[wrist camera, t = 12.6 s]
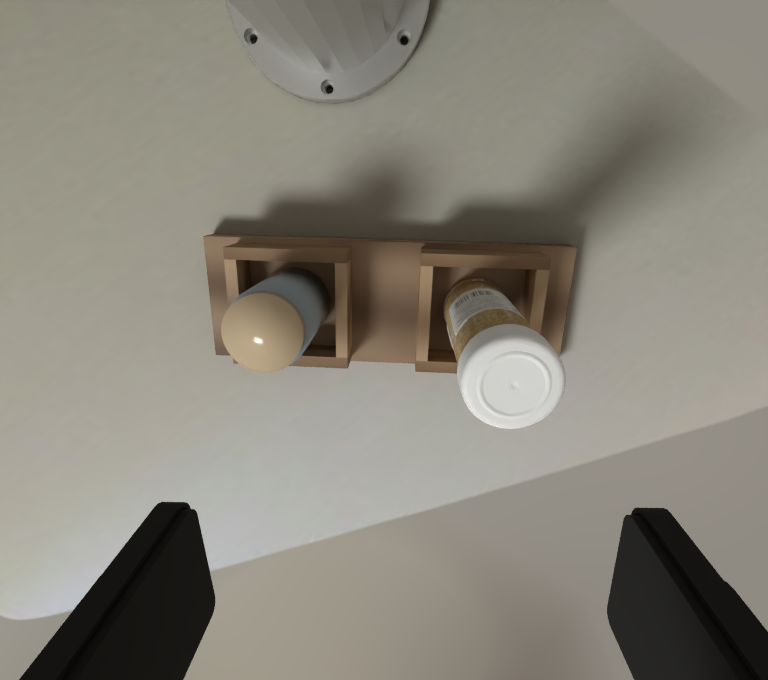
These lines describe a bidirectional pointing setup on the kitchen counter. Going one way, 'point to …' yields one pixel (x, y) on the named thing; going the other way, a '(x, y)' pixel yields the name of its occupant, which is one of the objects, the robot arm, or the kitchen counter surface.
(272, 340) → the spice pot
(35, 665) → the robot arm
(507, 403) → the sprinkles bottle
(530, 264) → the spice rail
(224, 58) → the kitchen counter surface
